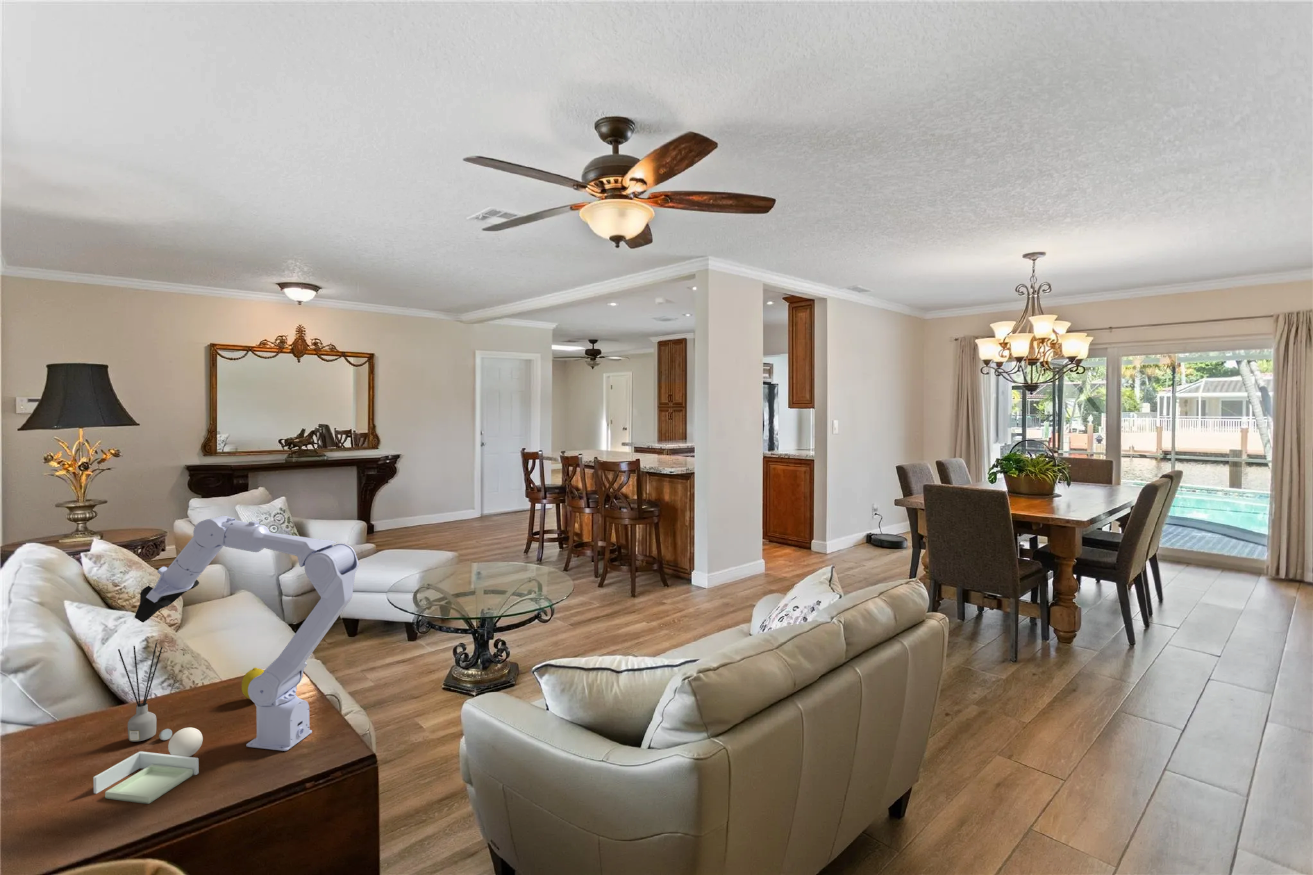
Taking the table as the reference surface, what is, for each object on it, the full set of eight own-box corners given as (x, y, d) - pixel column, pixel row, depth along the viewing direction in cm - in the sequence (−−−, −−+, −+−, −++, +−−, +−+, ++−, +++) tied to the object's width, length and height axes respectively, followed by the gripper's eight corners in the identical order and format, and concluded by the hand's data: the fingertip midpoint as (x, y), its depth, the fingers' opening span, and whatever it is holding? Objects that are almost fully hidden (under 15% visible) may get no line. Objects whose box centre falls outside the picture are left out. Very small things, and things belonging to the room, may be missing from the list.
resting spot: (192, 775, 122) (192, 769, 122) (148, 803, 114) (148, 797, 113) (151, 770, 124) (151, 764, 124) (105, 798, 115) (105, 791, 115)
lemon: (259, 706, 151) (259, 672, 150) (236, 705, 151) (235, 672, 150) (274, 695, 156) (273, 663, 156) (251, 694, 156) (251, 662, 156)
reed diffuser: (110, 746, 132) (108, 651, 131) (133, 730, 139) (131, 639, 138) (164, 744, 133) (163, 649, 132) (184, 727, 140) (183, 637, 139)
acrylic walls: (198, 773, 123) (198, 757, 123) (156, 801, 114) (155, 784, 114) (140, 766, 125) (139, 751, 125) (93, 793, 116) (93, 777, 116)
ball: (209, 750, 131) (209, 723, 131) (185, 765, 126) (185, 737, 125) (185, 747, 132) (185, 721, 132) (161, 762, 127) (160, 734, 126)
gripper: (194, 540, 141) (157, 586, 142) (150, 564, 127) (109, 615, 128) (222, 559, 142) (185, 604, 143) (182, 585, 128) (142, 635, 129)
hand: (151, 611), depth 135 cm, fingers open, 7 cm apart
